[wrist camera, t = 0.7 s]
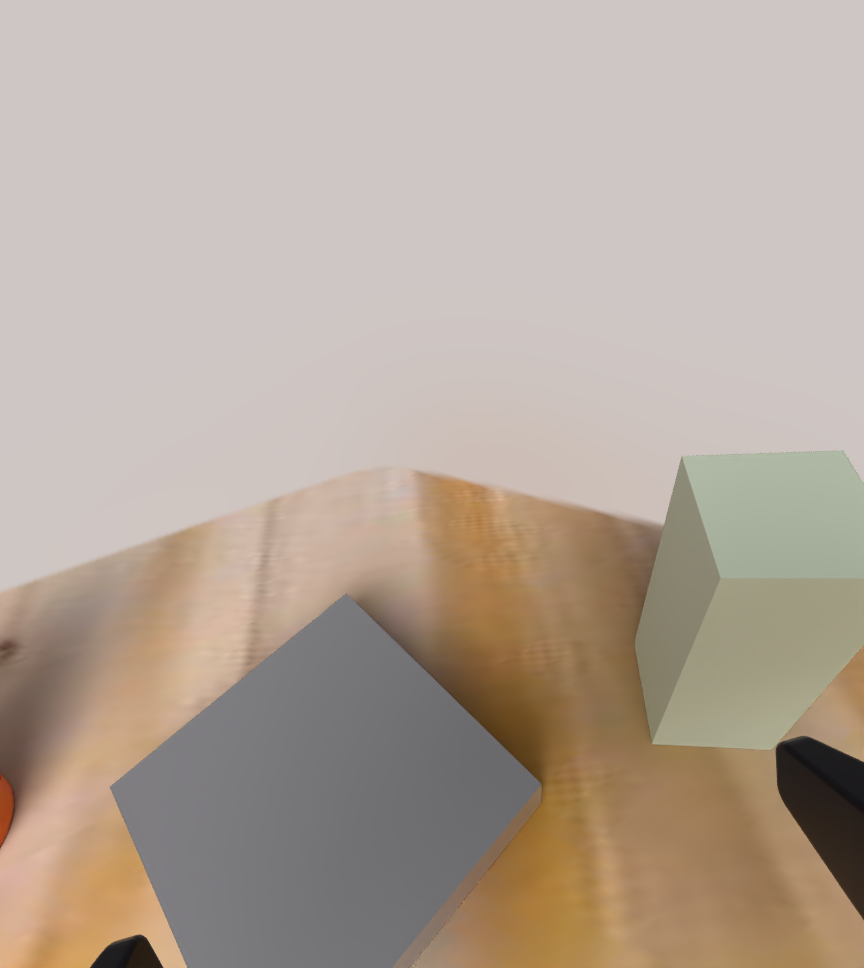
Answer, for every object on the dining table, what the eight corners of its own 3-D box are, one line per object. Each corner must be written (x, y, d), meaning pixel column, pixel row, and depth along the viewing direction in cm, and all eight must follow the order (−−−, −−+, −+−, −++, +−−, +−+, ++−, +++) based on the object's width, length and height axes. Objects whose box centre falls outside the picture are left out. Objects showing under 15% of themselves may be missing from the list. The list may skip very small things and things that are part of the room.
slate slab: (541, 802, 21) (541, 784, 20) (287, 1118, 16) (258, 1131, 15) (358, 619, 28) (346, 593, 26) (142, 804, 23) (109, 786, 22)
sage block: (771, 750, 22) (922, 578, 13) (651, 744, 22) (720, 578, 14) (738, 644, 25) (843, 450, 16) (634, 642, 25) (681, 456, 17)
